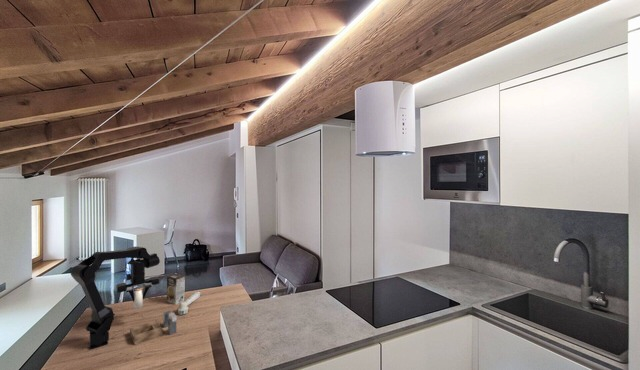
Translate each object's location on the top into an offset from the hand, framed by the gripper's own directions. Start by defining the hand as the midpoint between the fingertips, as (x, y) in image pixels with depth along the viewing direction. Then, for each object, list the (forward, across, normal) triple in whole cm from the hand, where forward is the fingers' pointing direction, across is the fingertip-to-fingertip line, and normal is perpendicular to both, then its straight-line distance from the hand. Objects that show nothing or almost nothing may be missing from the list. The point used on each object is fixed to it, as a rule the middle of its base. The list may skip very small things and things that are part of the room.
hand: (138, 300), depth 146 cm
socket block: (+13, -1, +14) cm, 19 cm away
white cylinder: (+4, 0, 0) cm, 4 cm away
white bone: (+14, -28, -6) cm, 31 cm away
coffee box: (+13, -23, -17) cm, 31 cm away
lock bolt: (+6, -11, +21) cm, 24 cm away
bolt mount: (+13, -11, +16) cm, 23 cm away
